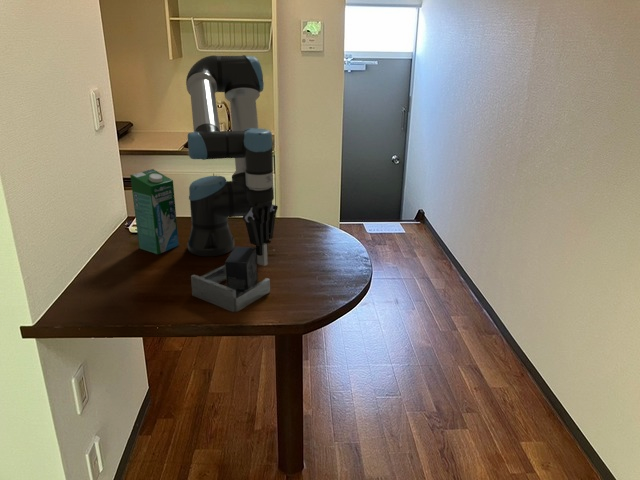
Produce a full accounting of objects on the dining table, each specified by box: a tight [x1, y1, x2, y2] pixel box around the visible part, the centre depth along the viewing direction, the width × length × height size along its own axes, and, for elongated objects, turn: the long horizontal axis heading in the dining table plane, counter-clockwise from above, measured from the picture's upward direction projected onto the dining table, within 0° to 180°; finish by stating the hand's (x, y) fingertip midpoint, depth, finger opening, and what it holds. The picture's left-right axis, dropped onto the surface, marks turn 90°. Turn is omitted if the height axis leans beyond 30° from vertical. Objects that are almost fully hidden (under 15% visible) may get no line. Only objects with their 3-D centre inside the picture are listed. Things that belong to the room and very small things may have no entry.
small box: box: [224, 246, 259, 295], centre depth 147 cm, size 11×6×10 cm, turn 173°
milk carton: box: [129, 168, 180, 255], centre depth 170 cm, size 9×9×25 cm
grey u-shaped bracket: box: [190, 264, 271, 313], centre depth 145 cm, size 16×14×6 cm
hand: (262, 263), depth 155 cm, fingers closed
